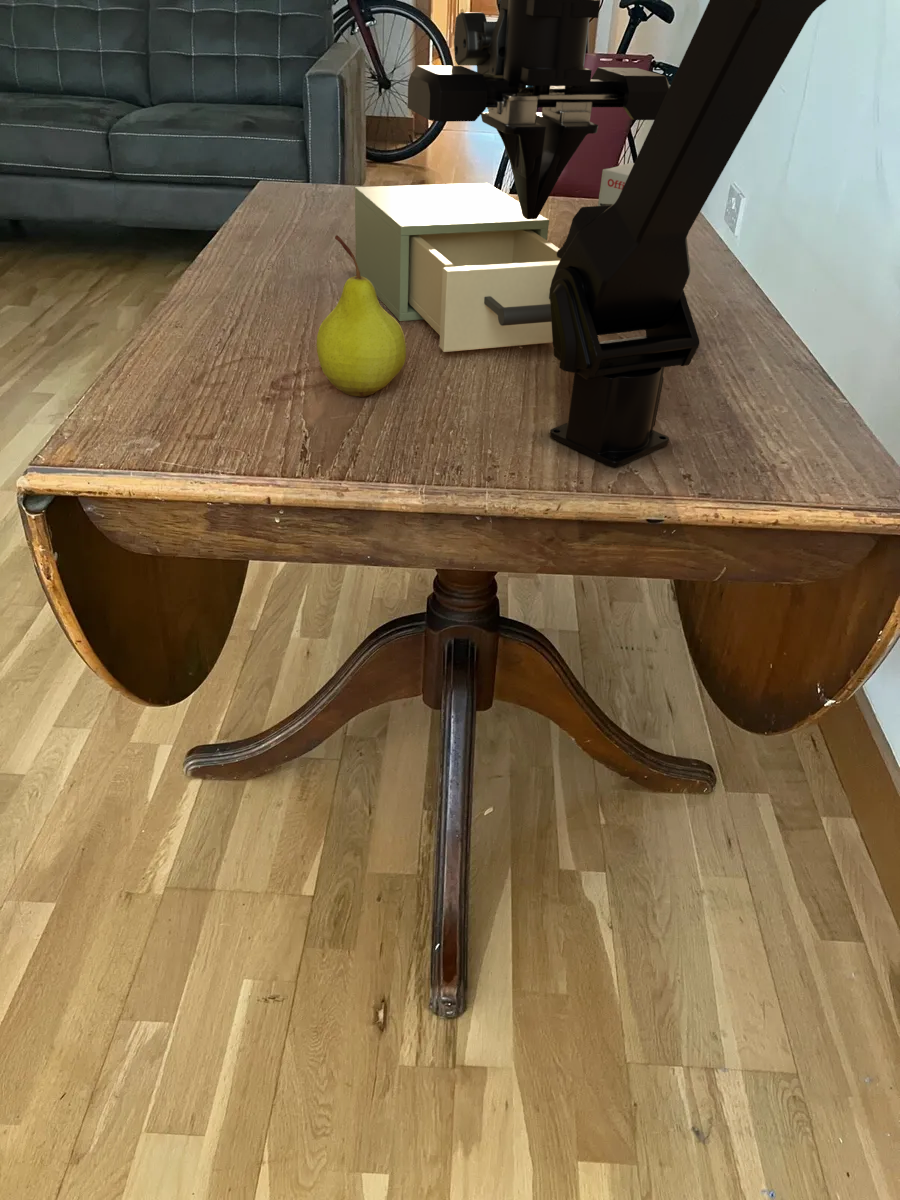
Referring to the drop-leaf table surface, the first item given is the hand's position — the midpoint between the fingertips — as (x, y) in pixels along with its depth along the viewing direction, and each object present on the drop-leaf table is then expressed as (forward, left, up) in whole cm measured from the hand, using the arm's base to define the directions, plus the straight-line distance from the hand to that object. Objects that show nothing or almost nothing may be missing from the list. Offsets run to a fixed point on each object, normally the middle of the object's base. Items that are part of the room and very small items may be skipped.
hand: (529, 218), depth 73 cm
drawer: (+4, +7, -11) cm, 14 cm away
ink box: (+25, +8, -13) cm, 29 cm away
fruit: (-14, +4, -13) cm, 19 cm away
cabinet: (+9, +19, -12) cm, 25 cm away
